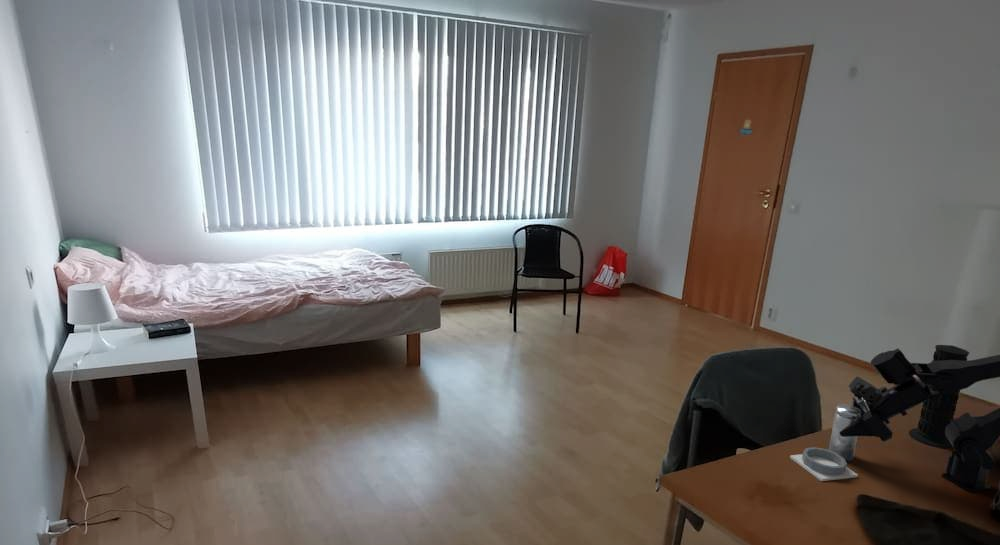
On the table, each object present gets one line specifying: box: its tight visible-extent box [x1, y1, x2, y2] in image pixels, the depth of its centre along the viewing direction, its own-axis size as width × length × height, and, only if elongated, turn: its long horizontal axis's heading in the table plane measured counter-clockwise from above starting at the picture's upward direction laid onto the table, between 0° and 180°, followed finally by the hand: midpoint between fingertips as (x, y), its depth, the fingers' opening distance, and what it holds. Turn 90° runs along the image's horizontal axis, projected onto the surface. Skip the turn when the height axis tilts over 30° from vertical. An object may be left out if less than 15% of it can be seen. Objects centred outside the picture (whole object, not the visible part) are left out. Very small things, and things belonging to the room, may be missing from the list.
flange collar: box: [789, 446, 859, 482], centre depth 131 cm, size 10×10×3 cm
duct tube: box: [828, 403, 862, 462], centre depth 136 cm, size 6×6×12 cm
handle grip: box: [908, 344, 970, 450], centre depth 144 cm, size 10×26×10 cm
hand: (838, 429), depth 136 cm, fingers closed on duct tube, 5 cm apart
